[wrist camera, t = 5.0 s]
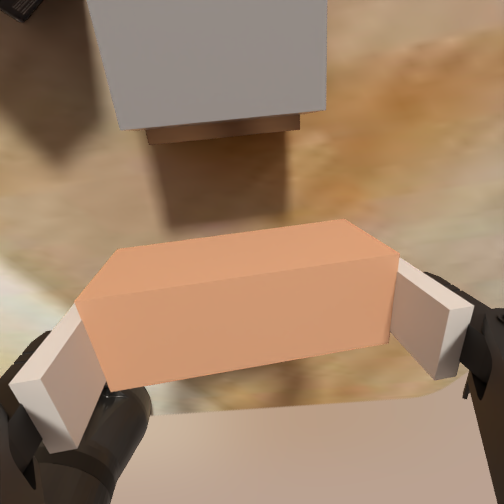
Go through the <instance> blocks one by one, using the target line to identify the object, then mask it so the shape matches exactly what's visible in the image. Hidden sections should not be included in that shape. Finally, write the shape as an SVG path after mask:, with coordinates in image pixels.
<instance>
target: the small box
mask: <svg viewBox="0 0 504 504" xmlns="http://www.w3.org/2000/svg"><path fill="white" fill-rule="evenodd" d="M42 1H43V0H0V10H1V11H3V12H4V13H6V14H8V15H9V16H11V17H12V18H14V19H15V20H17V21H18V22H24V21H25V20H26V19H28V18H29V16H30V15H31V13H32V12H33V10H36V8H37V6H38V5H39V4H40V3H41V2H42Z"/></svg>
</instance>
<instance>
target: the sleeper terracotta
mask: <svg viewBox="0 0 504 504" xmlns="http://www.w3.org/2000/svg"><path fill="white" fill-rule="evenodd" d="M399 257H400V253H398V252H396V251H395V250H393V249H392V248H390V247H388V246H387V245H385V244H384V243H382V242H381V241H379V240H377V239H376V238H374V237H373V236H371V235H369V234H368V233H366V232H365V231H363V230H361V229H360V228H358V227H357V226H355V225H353V224H352V223H350V222H349V221H347V220H345V219H339V220H332V221H324V222H317V223H309V224H302V225H294V226H287V227H279V228H272V229H264V230H257V231H249V232H242V233H234V234H227V235H219V236H212V237H204V238H197V239H189V240H182V241H174V242H167V243H159V244H152V245H144V246H136V247H129V248H121V249H117V250H116V251H115V252H114V254H113V255H112V256H111V257H110V258H109V260H108V261H107V262H106V263H105V265H104V266H103V267H102V268H101V269H100V271H99V272H98V273H97V274H96V275H95V277H94V278H93V279H92V280H91V282H90V283H89V284H88V285H87V286H86V288H85V289H84V290H83V291H82V292H81V294H80V295H79V296H78V297H77V299H76V300H75V301H74V303H75V305H76V308H77V310H78V313H79V315H80V318H81V320H82V321H83V324H84V326H85V329H86V331H87V334H88V336H89V339H90V341H91V343H92V346H93V348H94V351H95V353H96V356H97V358H98V361H99V363H100V366H101V368H102V371H103V373H104V376H105V378H106V382H107V384H108V387H109V389H110V392H114V391H120V390H125V389H131V388H137V387H143V386H148V385H154V384H160V383H165V382H171V381H177V380H182V379H188V378H194V377H199V376H205V375H211V374H216V373H222V372H228V371H234V370H239V369H245V368H251V367H256V366H262V365H268V364H273V363H279V362H285V361H290V360H296V359H302V358H307V357H313V356H319V355H325V354H330V353H336V352H342V351H347V350H353V349H359V348H364V347H370V346H376V345H381V344H387V343H389V337H390V326H391V318H392V310H393V302H394V293H395V285H396V277H397V271H398V265H399Z"/></svg>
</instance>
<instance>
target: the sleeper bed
mask: <svg viewBox="0 0 504 504" xmlns="http://www.w3.org/2000/svg"><path fill="white" fill-rule="evenodd" d="M291 130H300V115H290V116H280V117H270V118H260V119H250V120H240V121H230V122H220V123H210V124H200V125H190V126H180V127H170V128H160V129H150V130H146V135H147V139H148V143H149V145H155V144H165V143H175V142H184V141H194V140H204V139H213V138H223V137H233V136H242V135H252V134H262V133H271V132H281V131H291Z"/></svg>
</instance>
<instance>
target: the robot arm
mask: <svg viewBox="0 0 504 504" xmlns="http://www.w3.org/2000/svg"><path fill="white" fill-rule="evenodd" d="M390 332H391V333H392V334H393V335H394V337H395V338H396V339H397V340H398V341H399V342H400V343H401V344H402V345H403V346H404V348H405V349H406V350H407V351H408V352H409V353H410V354H411V355H412V356H413V357H414V359H415V360H416V361H417V362H418V363H419V364H420V365H421V366H422V367H423V368H424V370H425V371H426V372H427V373H428V374H429V375H430V376H431V377H432V378H433V379H434V380H439V379H444V378H450V377H455V376H456V375H457V371H458V367H459V363H460V362H461V363H462V364H463V365H464V366H465V367H467V368H468V369H469V373H468V377H467V381H466V384H465V388H464V391H463V398H464V399H467V397H468V394H469V393H471V397H472V402H473V406H474V410H475V414H476V418H477V422H478V426H479V430H480V434H481V438H482V442H483V446H484V450H485V454H486V458H487V462H488V466H489V470H490V474H491V478H492V482H493V486H494V491H495V495H496V499H497V503H498V504H504V308H495V309H491V308H489V307H488V306H486V305H484V304H483V303H481V302H480V301H478V300H476V299H475V298H473V297H472V296H470V295H468V294H467V293H465V292H463V291H460V289H459V288H457V287H455V286H454V285H451V283H449V282H447V281H446V280H444V279H443V278H441V277H439V276H436V275H433V274H431V273H428V272H421V271H420V270H418V269H417V268H415V267H414V266H412V265H411V264H409V263H408V262H406V261H405V260H403V259H401V258H400V257H399V265H398V271H397V277H396V285H395V293H394V302H393V310H392V318H391V326H390ZM150 412H151V402H150V398H149V395H148V393H147V391H146V390H145V388H144V387H137V388H131V389H125V390H120V391H114V392H110V389H109V387H108V384H107V382H106V378H105V376H104V373H103V371H102V368H101V366H100V363H99V361H98V358H97V356H96V353H95V351H94V348H93V346H92V343H91V341H90V339H89V336H88V334H87V331H86V329H85V326H84V324H83V321H82V320H81V318H80V315H79V313H78V310H77V308H76V305H75V303H74V304H73V305H72V307H71V308H70V309H69V310H68V312H67V313H66V314H65V315H64V317H63V318H62V319H61V320H60V321H59V323H58V324H57V325H56V326H55V328H54V329H53V330H52V331H46V332H45V333H43V334H42V335H41V336H39V337H38V338H36V339H35V340H34V341H32V342H31V343H30V345H29V346H28V347H27V348H26V349H25V350H24V352H23V353H22V355H20V356H19V357H18V359H17V360H16V361H15V362H14V365H11V367H10V368H9V369H8V370H7V371H6V372H5V374H4V375H3V376H2V377H1V378H0V504H110V502H111V499H112V495H113V492H114V489H115V486H116V482H117V480H118V478H119V477H120V475H121V473H122V472H123V470H124V468H125V467H126V465H127V463H128V462H129V460H130V458H131V457H132V455H133V453H134V451H135V450H136V448H137V446H138V445H139V443H140V441H141V440H142V438H143V436H144V434H145V431H146V429H147V425H148V421H149V417H150Z"/></svg>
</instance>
